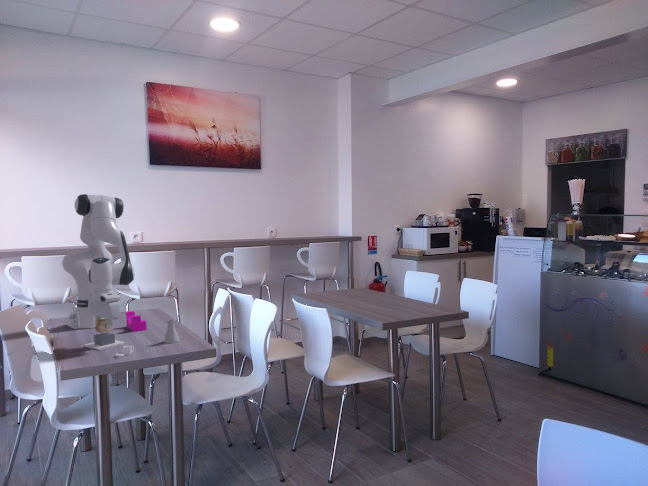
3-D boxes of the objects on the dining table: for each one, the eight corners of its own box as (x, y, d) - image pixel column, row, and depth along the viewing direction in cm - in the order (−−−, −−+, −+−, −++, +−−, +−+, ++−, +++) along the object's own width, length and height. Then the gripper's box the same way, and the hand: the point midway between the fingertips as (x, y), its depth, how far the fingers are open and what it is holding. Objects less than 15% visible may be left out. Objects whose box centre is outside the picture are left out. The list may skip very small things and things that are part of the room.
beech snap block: (95, 331, 224) (95, 319, 224) (106, 329, 228) (105, 317, 228) (101, 332, 221) (101, 321, 221) (112, 330, 225) (112, 319, 225)
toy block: (146, 330, 254) (145, 315, 253) (133, 332, 251) (132, 316, 250) (139, 324, 267) (138, 310, 266) (126, 326, 263) (125, 311, 263)
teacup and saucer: (115, 360, 204) (114, 350, 204) (115, 355, 211) (114, 345, 211) (138, 357, 207) (138, 347, 207) (137, 352, 215) (137, 342, 214)
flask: (164, 345, 224) (164, 322, 223) (161, 341, 230) (160, 319, 230) (181, 343, 227) (180, 320, 227) (178, 339, 234) (177, 317, 233)
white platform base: (84, 346, 224) (83, 335, 224) (110, 340, 234) (109, 329, 233) (99, 351, 217) (98, 339, 216) (125, 344, 226) (124, 333, 226)
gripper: (83, 294, 227) (84, 325, 228) (108, 298, 215) (110, 331, 216) (96, 292, 232) (98, 322, 233) (122, 296, 220) (123, 328, 221)
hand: (104, 327), depth 225 cm, fingers closed on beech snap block, 5 cm apart
